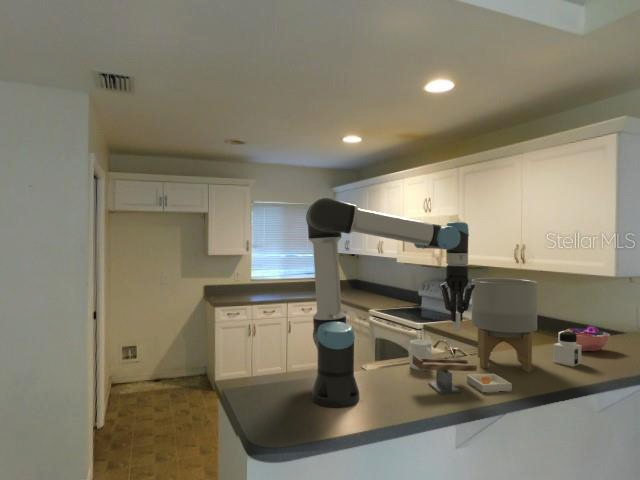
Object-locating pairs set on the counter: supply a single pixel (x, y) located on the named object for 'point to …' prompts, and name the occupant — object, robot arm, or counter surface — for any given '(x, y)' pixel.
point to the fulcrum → (444, 383)
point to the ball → (485, 380)
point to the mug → (420, 351)
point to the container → (567, 349)
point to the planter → (505, 316)
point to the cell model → (590, 338)
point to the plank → (443, 364)
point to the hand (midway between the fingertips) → (456, 330)
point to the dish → (494, 386)
